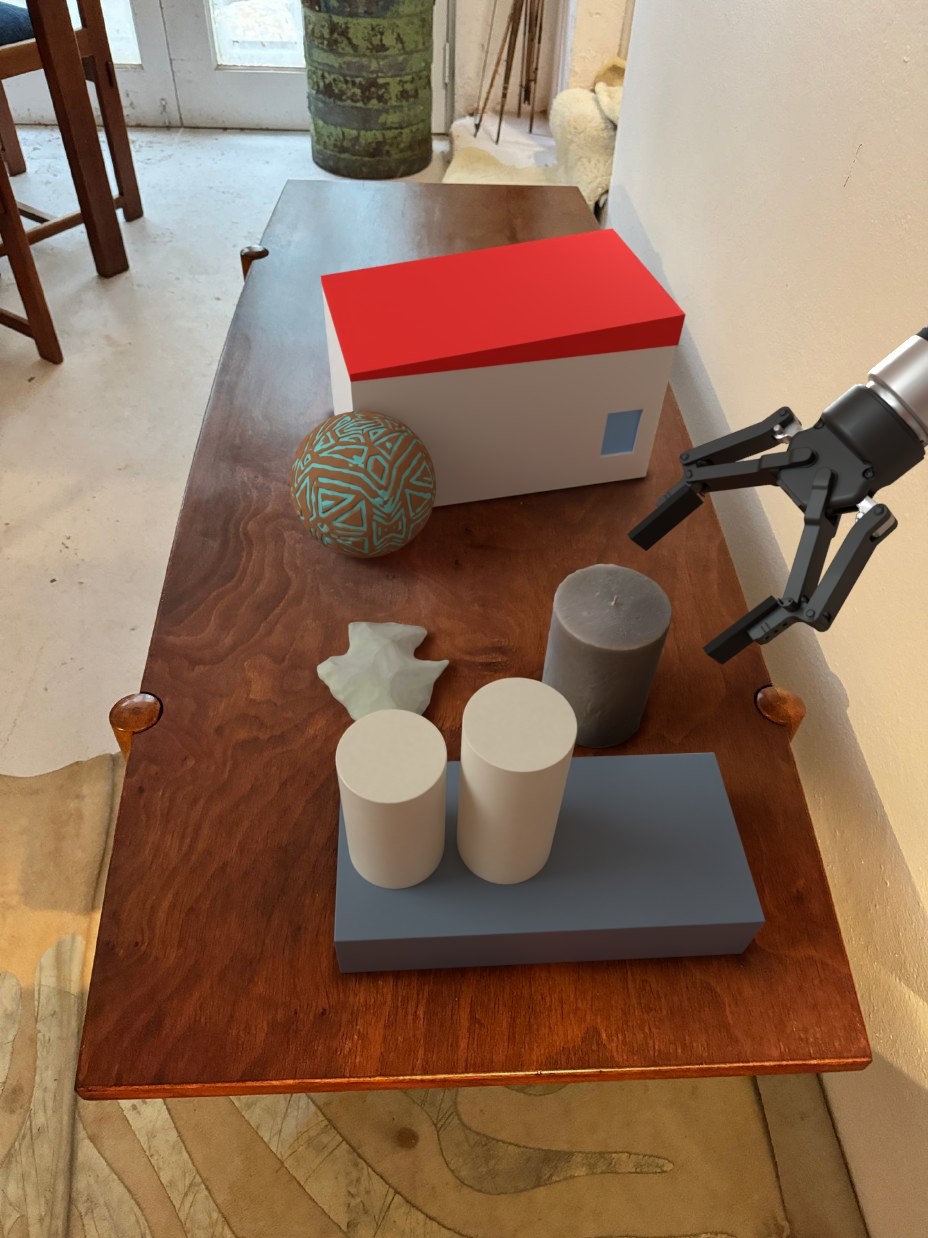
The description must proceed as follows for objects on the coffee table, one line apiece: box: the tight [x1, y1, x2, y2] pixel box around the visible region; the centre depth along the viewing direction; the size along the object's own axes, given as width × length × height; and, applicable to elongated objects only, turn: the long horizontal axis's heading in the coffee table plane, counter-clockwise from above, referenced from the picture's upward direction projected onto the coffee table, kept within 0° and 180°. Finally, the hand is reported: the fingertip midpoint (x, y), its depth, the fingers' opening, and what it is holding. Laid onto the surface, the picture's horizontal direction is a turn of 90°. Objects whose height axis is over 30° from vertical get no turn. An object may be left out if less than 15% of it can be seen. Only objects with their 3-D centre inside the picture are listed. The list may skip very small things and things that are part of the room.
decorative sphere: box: [289, 411, 436, 559], centre depth 87 cm, size 15×15×15 cm
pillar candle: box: [541, 563, 673, 749], centre depth 73 cm, size 10×10×15 cm
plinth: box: [333, 752, 766, 974], centre depth 65 cm, size 30×14×6 cm, turn 93°
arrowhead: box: [316, 621, 450, 722], centre depth 78 cm, size 12×3×15 cm
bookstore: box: [320, 227, 686, 508], centre depth 97 cm, size 21×35×21 cm, turn 104°
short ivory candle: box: [335, 709, 448, 889], centre depth 58 cm, size 7×7×12 cm
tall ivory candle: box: [457, 677, 577, 884], centre depth 57 cm, size 7×7×15 cm
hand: (671, 596), depth 71 cm, fingers open, 13 cm apart
